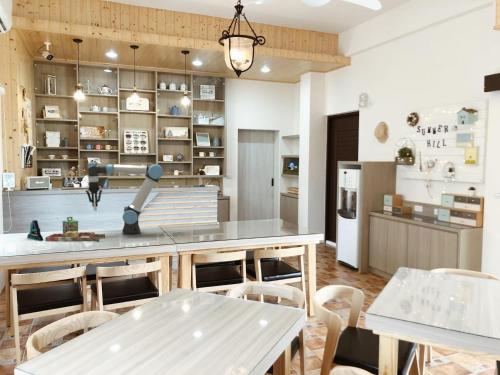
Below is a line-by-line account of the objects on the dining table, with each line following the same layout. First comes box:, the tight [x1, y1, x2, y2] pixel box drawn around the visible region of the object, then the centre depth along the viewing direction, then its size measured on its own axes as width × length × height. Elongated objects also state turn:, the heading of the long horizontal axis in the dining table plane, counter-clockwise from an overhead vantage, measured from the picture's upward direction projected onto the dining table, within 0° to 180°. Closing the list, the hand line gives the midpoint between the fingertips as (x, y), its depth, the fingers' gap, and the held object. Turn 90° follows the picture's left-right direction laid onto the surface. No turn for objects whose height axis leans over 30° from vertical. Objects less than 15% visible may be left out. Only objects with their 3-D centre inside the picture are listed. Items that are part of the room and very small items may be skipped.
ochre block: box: [66, 230, 79, 237], centre depth 329 cm, size 7×7×6 cm
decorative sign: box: [26, 219, 44, 242], centre depth 328 cm, size 19×2×15 cm, turn 56°
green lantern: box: [62, 216, 79, 234], centre depth 347 cm, size 9×9×15 cm
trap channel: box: [45, 231, 106, 243], centre depth 332 cm, size 40×22×3 cm, turn 92°
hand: (95, 210), depth 337 cm, fingers closed
